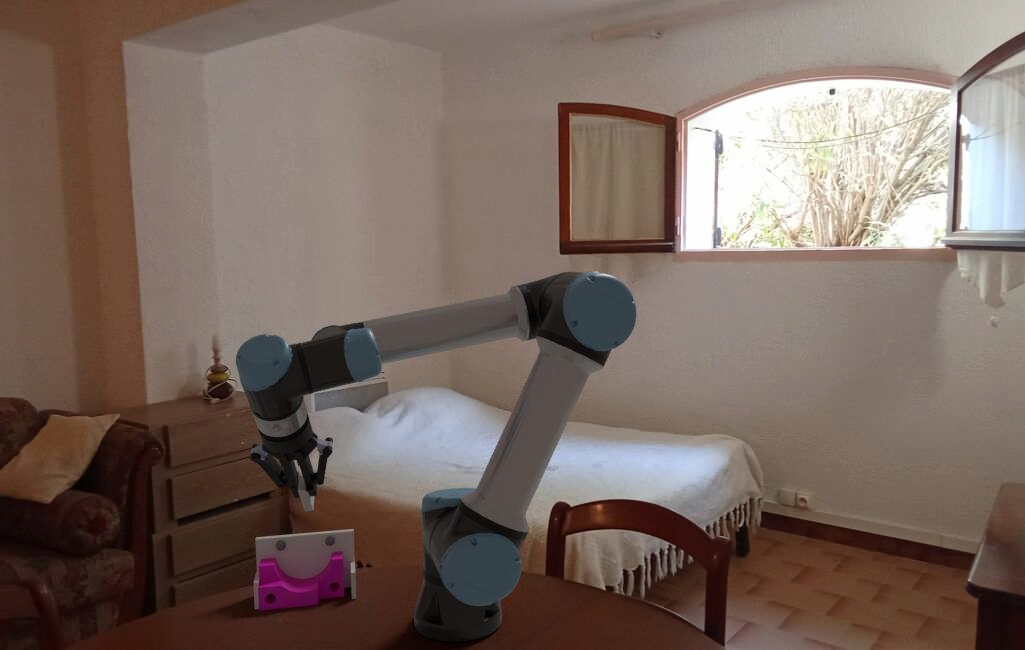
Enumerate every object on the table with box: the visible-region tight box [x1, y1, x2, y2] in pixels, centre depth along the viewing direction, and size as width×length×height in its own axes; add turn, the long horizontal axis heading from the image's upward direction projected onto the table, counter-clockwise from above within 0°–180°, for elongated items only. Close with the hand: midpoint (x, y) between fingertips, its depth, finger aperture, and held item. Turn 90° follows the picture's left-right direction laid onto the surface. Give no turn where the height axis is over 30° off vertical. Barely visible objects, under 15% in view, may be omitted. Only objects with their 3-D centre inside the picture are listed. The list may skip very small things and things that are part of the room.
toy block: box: [258, 551, 345, 612], centre depth 145 cm, size 15×6×8 cm, turn 103°
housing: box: [253, 528, 357, 610], centre depth 146 cm, size 7×18×11 cm, turn 103°
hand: (309, 504), depth 135 cm, fingers closed
